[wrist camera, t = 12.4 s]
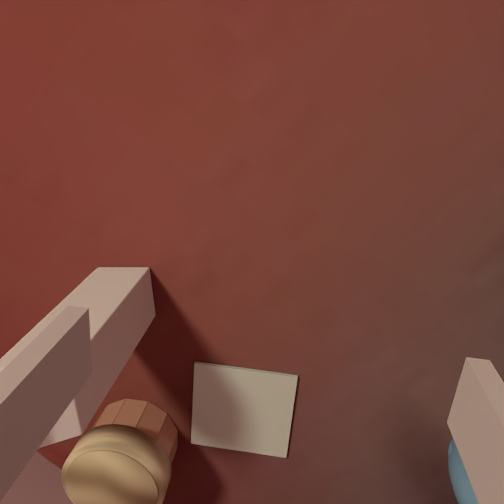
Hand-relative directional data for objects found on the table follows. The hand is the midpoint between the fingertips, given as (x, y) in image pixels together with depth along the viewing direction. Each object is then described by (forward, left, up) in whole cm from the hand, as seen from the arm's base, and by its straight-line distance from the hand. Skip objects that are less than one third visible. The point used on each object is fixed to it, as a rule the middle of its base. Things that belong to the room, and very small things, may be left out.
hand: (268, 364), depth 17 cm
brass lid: (+16, +34, -26) cm, 46 cm away
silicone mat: (+3, +29, -32) cm, 43 cm away
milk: (+17, +15, -32) cm, 39 cm away
